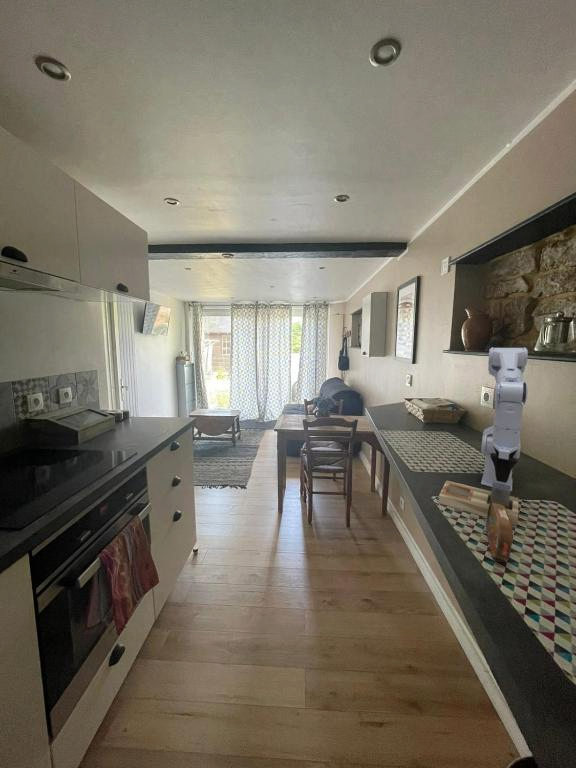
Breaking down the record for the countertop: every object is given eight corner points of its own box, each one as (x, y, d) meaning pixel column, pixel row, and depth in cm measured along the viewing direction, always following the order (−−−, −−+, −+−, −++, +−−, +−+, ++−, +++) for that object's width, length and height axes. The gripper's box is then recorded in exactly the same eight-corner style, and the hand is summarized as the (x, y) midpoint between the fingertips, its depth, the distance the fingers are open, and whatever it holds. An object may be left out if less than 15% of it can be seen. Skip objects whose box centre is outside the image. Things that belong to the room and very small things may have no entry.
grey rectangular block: (490, 505, 85) (492, 482, 84) (508, 509, 83) (510, 486, 82) (489, 511, 82) (491, 487, 81) (507, 516, 80) (510, 492, 78)
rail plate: (446, 487, 95) (446, 479, 95) (517, 506, 84) (518, 497, 84) (438, 503, 86) (439, 494, 86) (517, 526, 76) (518, 516, 75)
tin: (485, 525, 76) (487, 494, 75) (500, 529, 75) (503, 497, 73) (493, 565, 63) (496, 529, 62) (511, 571, 61) (515, 533, 60)
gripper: (490, 418, 87) (487, 463, 89) (486, 431, 75) (481, 482, 78) (521, 422, 83) (516, 469, 85) (521, 436, 71) (516, 490, 73)
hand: (502, 475), depth 81 cm, fingers open, 7 cm apart
